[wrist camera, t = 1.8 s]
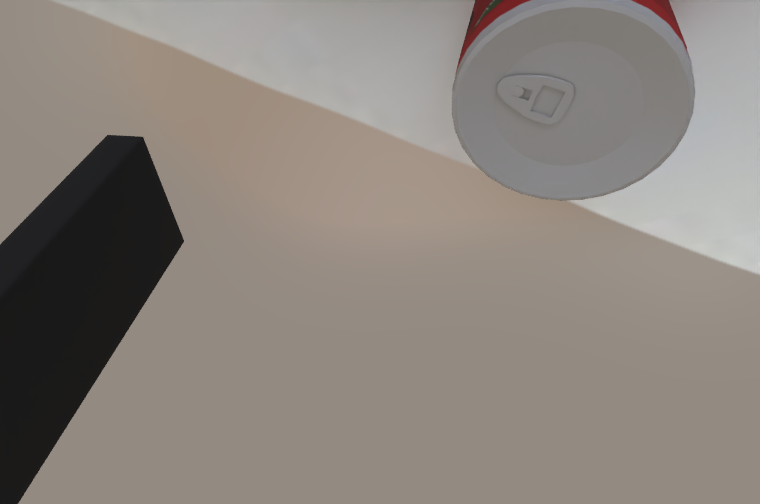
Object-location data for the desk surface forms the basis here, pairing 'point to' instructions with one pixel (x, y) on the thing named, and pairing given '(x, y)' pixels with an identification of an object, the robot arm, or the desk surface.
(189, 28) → the desk surface
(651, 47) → the canned food
